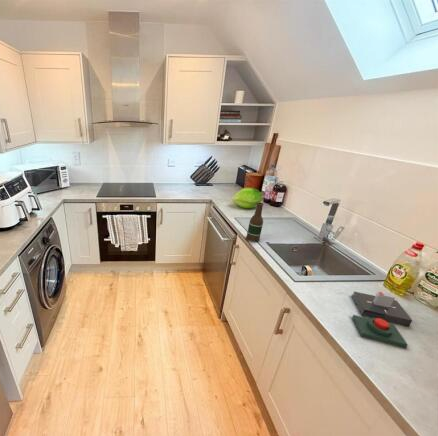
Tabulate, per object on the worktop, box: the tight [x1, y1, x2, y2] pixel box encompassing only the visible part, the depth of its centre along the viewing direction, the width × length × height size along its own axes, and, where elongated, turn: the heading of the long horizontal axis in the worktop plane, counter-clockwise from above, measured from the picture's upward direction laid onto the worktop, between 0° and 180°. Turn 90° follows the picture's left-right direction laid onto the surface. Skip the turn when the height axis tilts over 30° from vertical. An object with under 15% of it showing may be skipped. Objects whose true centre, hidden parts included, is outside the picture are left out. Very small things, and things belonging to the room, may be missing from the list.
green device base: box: [351, 314, 409, 349], centre depth 83 cm, size 12×9×4 cm
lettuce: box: [230, 187, 263, 209], centre depth 195 cm, size 19×25×17 cm
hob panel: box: [351, 291, 413, 327], centre depth 93 cm, size 14×11×3 cm
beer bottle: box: [246, 202, 264, 243], centre depth 143 cm, size 8×8×24 cm
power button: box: [374, 318, 390, 330], centre depth 82 cm, size 4×4×2 cm
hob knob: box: [373, 291, 396, 308], centre depth 91 cm, size 5×2×5 cm, turn 68°
